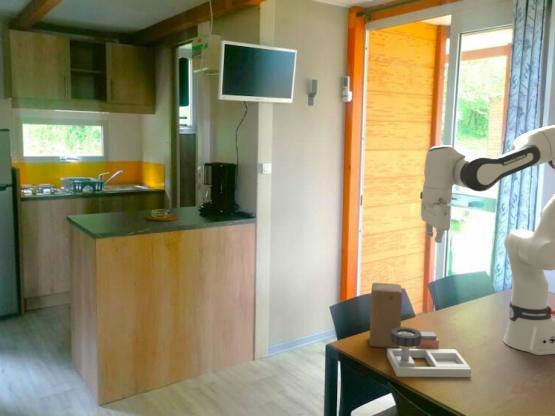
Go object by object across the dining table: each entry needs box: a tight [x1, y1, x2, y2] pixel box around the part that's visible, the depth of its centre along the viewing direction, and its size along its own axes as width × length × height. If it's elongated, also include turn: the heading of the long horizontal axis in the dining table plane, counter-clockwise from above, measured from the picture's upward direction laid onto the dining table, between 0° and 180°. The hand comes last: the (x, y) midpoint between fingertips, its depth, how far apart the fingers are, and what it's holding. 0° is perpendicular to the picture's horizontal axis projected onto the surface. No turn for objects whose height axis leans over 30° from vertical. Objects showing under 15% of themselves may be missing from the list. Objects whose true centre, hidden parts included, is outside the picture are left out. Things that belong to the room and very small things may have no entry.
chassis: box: [386, 346, 472, 378], centre depth 162 cm, size 22×14×9 cm, turn 90°
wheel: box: [391, 326, 421, 348], centre depth 161 cm, size 9×9×3 cm
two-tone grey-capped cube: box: [415, 331, 440, 349], centre depth 173 cm, size 6×5×6 cm
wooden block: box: [369, 282, 403, 349], centre depth 179 cm, size 10×10×20 cm
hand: (433, 239), depth 167 cm, fingers open, 8 cm apart
